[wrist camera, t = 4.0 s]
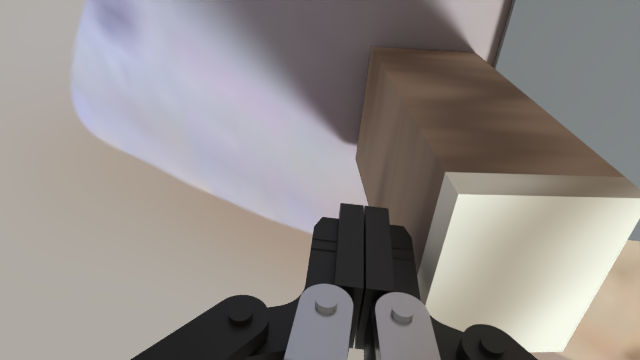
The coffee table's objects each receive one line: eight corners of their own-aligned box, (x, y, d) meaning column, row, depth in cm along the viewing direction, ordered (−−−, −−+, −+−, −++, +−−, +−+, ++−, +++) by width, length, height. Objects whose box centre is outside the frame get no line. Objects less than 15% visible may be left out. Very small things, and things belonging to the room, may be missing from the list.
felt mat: (891, 10, 19) (900, 12, 19) (719, 245, 26) (724, 250, 25) (520, -26, 19) (523, -25, 19) (449, 215, 26) (450, 219, 26)
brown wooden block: (475, 52, 21) (651, 198, 11) (445, 161, 24) (562, 351, 14) (371, 46, 21) (458, 194, 11) (355, 158, 24) (410, 354, 14)
